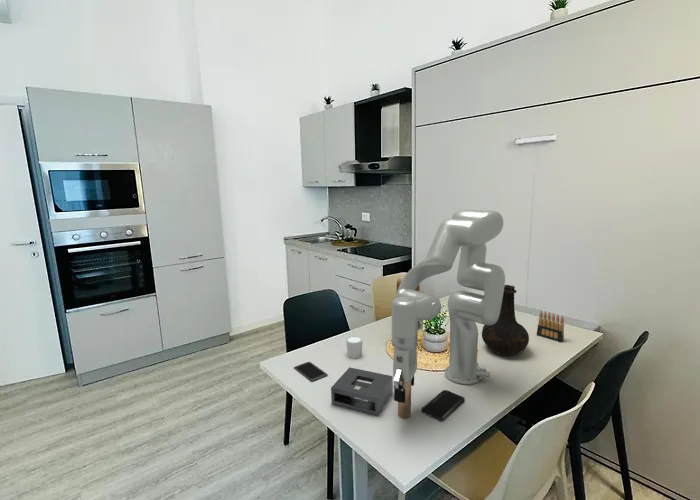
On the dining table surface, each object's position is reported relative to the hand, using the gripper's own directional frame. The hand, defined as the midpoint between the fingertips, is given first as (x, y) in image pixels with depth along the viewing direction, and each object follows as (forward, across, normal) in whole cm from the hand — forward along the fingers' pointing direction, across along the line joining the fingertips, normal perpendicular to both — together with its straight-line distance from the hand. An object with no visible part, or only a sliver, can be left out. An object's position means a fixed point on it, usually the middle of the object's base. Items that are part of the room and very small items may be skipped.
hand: (404, 392), depth 110 cm
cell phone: (+8, +12, +40) cm, 43 cm away
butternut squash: (+7, +69, +18) cm, 71 cm away
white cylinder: (+7, +30, +30) cm, 43 cm away
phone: (+8, +9, -10) cm, 16 cm away
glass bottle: (+7, +57, -26) cm, 63 cm away
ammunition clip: (+8, +77, -44) cm, 89 cm away
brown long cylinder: (+7, 0, 0) cm, 7 cm away
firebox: (+7, +3, +15) cm, 17 cm away
